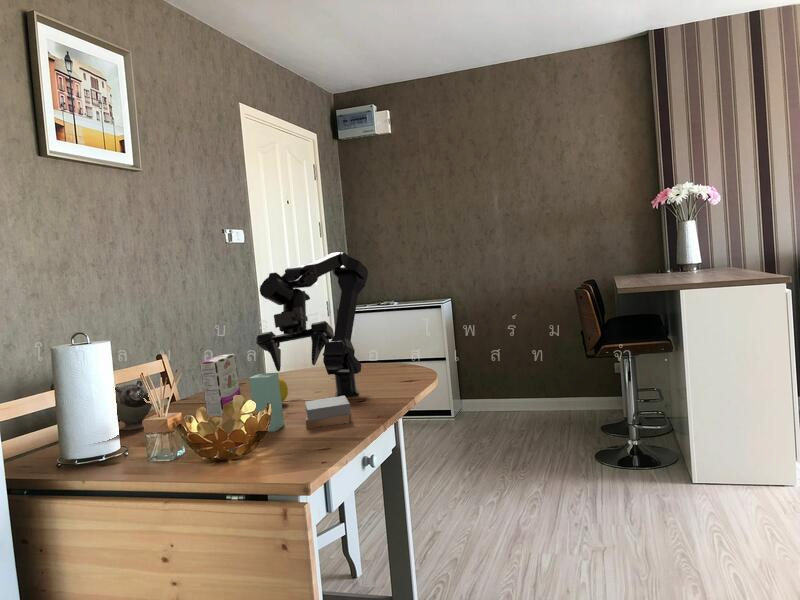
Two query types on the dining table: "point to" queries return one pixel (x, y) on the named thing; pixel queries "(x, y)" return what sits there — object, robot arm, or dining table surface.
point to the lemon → (283, 389)
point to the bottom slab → (327, 421)
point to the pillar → (268, 397)
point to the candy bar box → (219, 382)
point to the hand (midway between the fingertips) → (295, 367)
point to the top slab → (327, 408)
